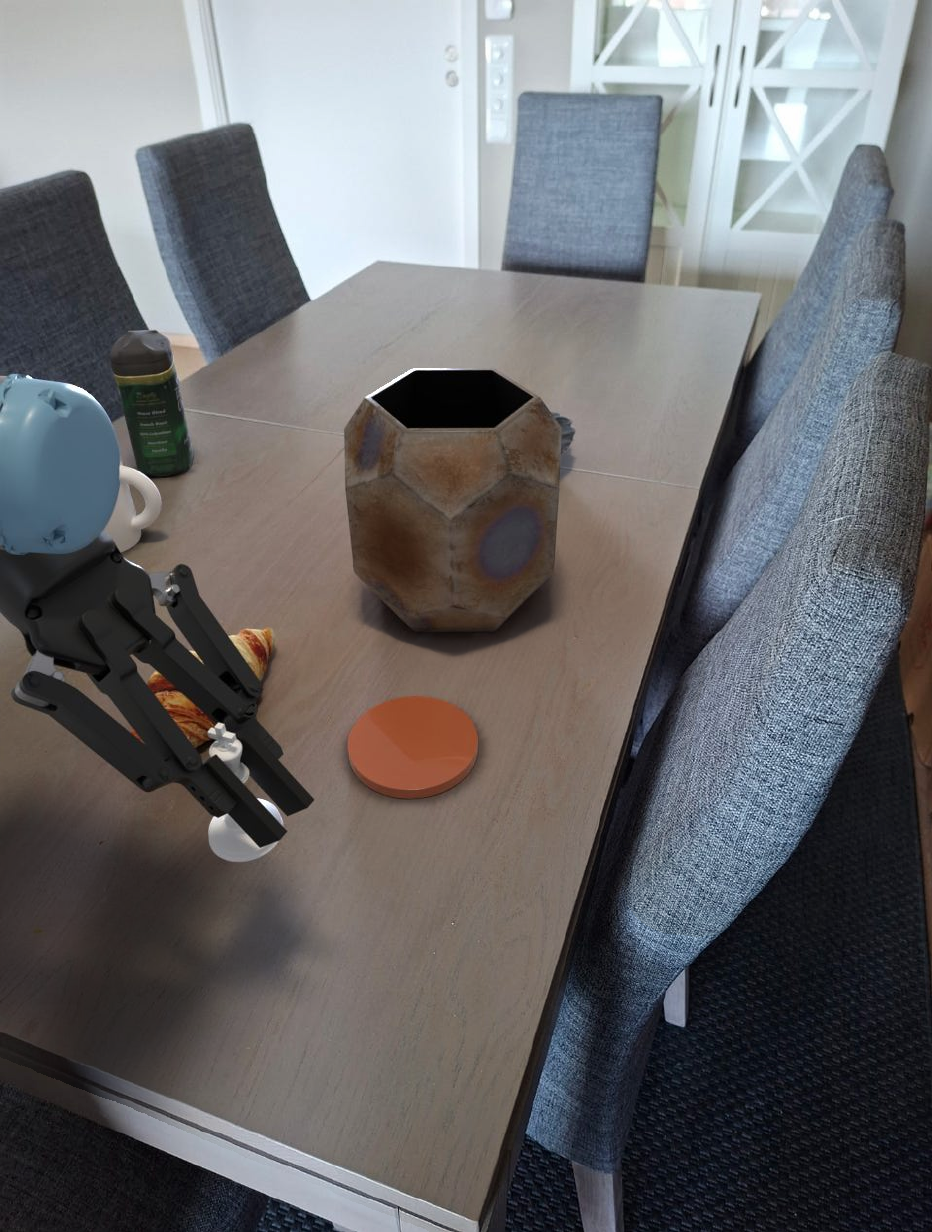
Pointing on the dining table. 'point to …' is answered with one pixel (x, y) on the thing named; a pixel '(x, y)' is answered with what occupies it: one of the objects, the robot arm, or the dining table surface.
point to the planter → (453, 496)
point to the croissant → (247, 641)
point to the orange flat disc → (412, 747)
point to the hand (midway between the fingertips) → (287, 823)
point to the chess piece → (224, 830)
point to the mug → (132, 509)
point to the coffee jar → (152, 402)
